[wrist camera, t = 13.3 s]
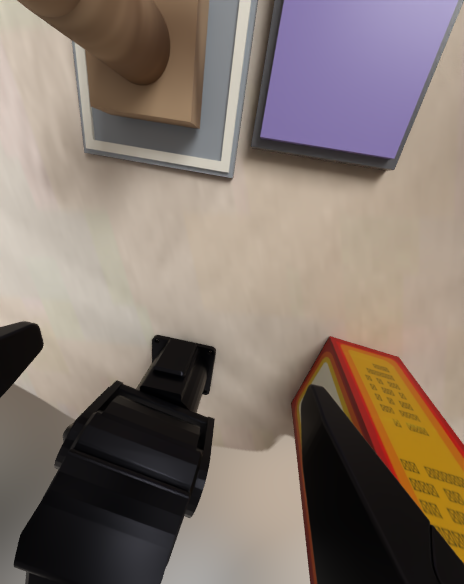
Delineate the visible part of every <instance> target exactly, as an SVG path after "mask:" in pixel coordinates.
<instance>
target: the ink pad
mask: <svg viewBox="0 0 464 584" xmlns="http://www.w3.org/2000/svg"><path fill="white" fill-rule="evenodd" d="M463 2H464V0H275V2H274V9H273V15H272V21H271V27H270V33H269V39H268V46H267V52H266V58H265V64H264V70H263V76H262V83H261V89H260V95H259V101H258V107H257V113H256V120H255V126H254V132H253V138H252V144H251V147H252V148H253V149H260V150H266V151H272V152H278V153H284V154H290V155H296V156H302V157H308V158H314V159H320V160H326V161H332V162H338V163H344V164H350V165H357V166H363V167H369V168H375V169H381V170H394V169H395V167H396V164H397V162H398V160H399V157H400V155H401V152H402V150H403V147H404V145H405V143H406V140H407V138H408V135H409V133H410V130H411V128H412V125H413V123H414V121H415V118H416V116H417V113H418V111H419V108H420V106H421V104H422V101H423V99H424V96H425V94H426V91H427V89H428V87H429V84H430V82H431V79H432V77H433V74H434V72H435V70H436V67H437V65H438V62H439V60H440V57H441V55H442V53H443V50H444V48H445V45H446V43H447V40H448V38H449V36H450V33H451V31H452V28H453V26H454V23H455V21H456V19H457V16H458V14H459V11H460V9H461V6H462V4H463Z"/></svg>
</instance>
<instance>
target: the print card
mask: <svg viewBox="0 0 464 584" xmlns="http://www.w3.org/2000/svg"><path fill="white" fill-rule="evenodd" d="M257 4H258V0H209V12H208V26H207V39H206V53H205V66H204V80H203V93H202V107H201V120H200V129H196V128H190V127H184V126H178V125H171V124H165V123H159V122H152V121H146V120H140V119H134V118H127V117H121V116H115V115H110V114H108V113H105V112H103V111H100V110H98V109H96V108H93V107H91V106H90V96H89V86H88V75H87V65H86V54H85V49H83V48H82V47H81V46H79V45H78V44H76V43H75V42H74V41H72V45H73V54H74V63H75V72H76V81H77V90H78V99H79V108H80V117H81V126H82V135H83V144H84V153H90V154H96V155H101V156H107V157H113V158H119V159H124V160H130V161H136V162H142V163H148V164H153V165H159V166H165V167H171V168H177V169H182V170H188V171H194V172H200V173H205V174H211V175H217V176H223V177H229V178H233V175H234V168H235V161H236V154H237V147H238V139H239V132H240V125H241V118H242V111H243V104H244V97H245V89H246V82H247V75H248V68H249V61H250V54H251V47H252V40H253V32H254V25H255V18H256V11H257Z"/></svg>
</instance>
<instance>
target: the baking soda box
mask: <svg viewBox="0 0 464 584" xmlns="http://www.w3.org/2000/svg"><path fill="white" fill-rule="evenodd" d="M310 384H315V385H319V386H323V387H324V388H325V389H326V390H327V391H328V393H329V394H330V395H331V397H332V398H333V399H334V400H335V402H336V403H337V404H338V405H339V407H340V408H341V409H342V410H343V412H344V413H345V414H346V416H347V417H348V418H349V419H350V421H351V422H352V423H353V424H354V426H355V427H356V428H357V429H358V431H359V432H360V433H361V434H362V436H363V437H364V438H365V440H366V441H367V442H368V443H369V445H370V446H371V447H372V448H373V450H374V451H375V452H376V453H377V455H378V456H379V457H380V458H381V460H382V461H383V462H384V464H385V465H386V466H387V467H388V469H389V470H390V471H391V472H392V474H393V475H394V476H395V477H396V479H397V480H398V481H399V483H400V484H401V485H402V486H403V488H404V489H405V490H406V491H407V493H408V494H409V495H410V496H411V498H412V499H413V500H414V501H415V503H416V504H417V505H418V507H419V508H420V509H421V510H422V512H423V513H424V514H425V515H426V517H427V518H428V519H429V521H430V525H433V526H434V527H435V528H436V529H437V530H438V532H439V533H440V534H441V535H442V537H443V538H444V539H445V540H446V542H447V543H448V544H449V545H450V547H451V548H452V549H453V550H454V552H455V553H456V554H457V555H458V557H459V558H460V559H461V560H462V562H463V563H464V445H463V443H462V442H461V441H460V439H459V438H458V437H457V435H456V434H455V432H454V431H453V430H452V428H451V427H450V426H449V424H448V423H447V422H446V420H445V419H444V418H443V416H442V415H441V414H440V412H439V411H438V410H437V408H436V407H435V406H434V404H433V403H432V401H431V400H430V399H429V397H428V396H427V395H426V393H425V392H424V391H423V389H422V388H421V387H420V385H419V384H418V383H417V381H416V380H415V379H414V377H413V376H412V375H411V373H410V372H409V371H408V369H407V368H406V366H405V365H404V364H403V362H402V361H401V360H400V358H399V357H397V356H393V355H390V354H387V353H383V352H380V351H377V350H374V349H370V348H367V347H364V346H360V345H357V344H354V343H350V342H347V341H344V340H341V339H337V338H334V337H331V336H329V338H328V340H327V342H326V343H325V345H324V347H323V349H322V350H321V352H320V354H319V356H318V357H317V359H316V361H315V363H314V364H313V366H312V368H311V370H310V371H309V373H308V375H307V377H306V378H305V380H304V382H303V384H302V385H301V387H300V389H299V391H298V392H297V394H296V396H295V398H294V399H293V401H292V403H291V406H292V416H293V425H294V435H295V444H296V453H297V462H298V472H299V480H300V491H301V500H302V509H303V519H304V528H305V537H306V546H307V556H308V566H309V575H310V584H317V578H316V570H315V562H314V554H313V546H312V538H311V530H310V522H309V514H308V506H307V499H306V491H305V483H304V475H303V465H302V443H301V403H302V400H303V397H304V395H305V393H306V390H307V388H308V386H309V385H310Z"/></svg>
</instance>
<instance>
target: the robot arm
mask: <svg viewBox="0 0 464 584" xmlns="http://www.w3.org/2000/svg"><path fill="white" fill-rule="evenodd" d="M156 339H157V340H159V341H157V340H156ZM43 344H44V343H43V339H42V335H41V331H40V328H39V326H38V325H37V324H35V323H31V322H19V323H15V324H11V325H7V326H3V327H0V397H1V396H2V395H3V394H4V393H5V392H6V391H7V390H8V389H9V388H10V387H11V386H12V384H13V383H14V382H15V381H16V380H17V378H18V377H19V376H20V375H21V374H22V373H23V371H24V370H25V369H26V368H27V367H28V365H29V364H30V363H31V362H32V361H33V360H34V358H35V357H36V356H37V355H38V354H39V353H40V351H41V350H42V348H43ZM209 351H212V352H209ZM215 355H216V349H215V348H214V347H212V346H207V345H203V344H198V343H193V342H188V341H184V340H179V339H174V338H170V337H165V336H160V335H156V336H154V338H153V339H152V365H151V366H150V368H149V369H148V371H147V373H146V374H145V376H144V377H143V379H142V381H141V382H140V384H139V385H138V387H137V388H136V389H134V388H132V387H129V386H127V385H124V384H123V383H122V382H120V381H116V382H115V383H114V384H113V385H112V386H111V387H108V388H107V389H106V390H105V391H104V392H103V393H102V394H101V395H100V396H99V397H98V398H97V399H96V400H95V401H94V402H93V403H92V404H91V405H90V406H89V407H88V408H87V409H86V410H85V411H84V412H83V413H82V414H81V415H80V416H79V417H78V418H77V419H76V420H75V422H74V423H72V424H71V425H70V426H68V427H67V429H66V430H65V432H64V434H63V441H64V443H63V445H62V447H61V449H60V451H59V453H58V455H57V458H56V460H55V465H54V466H55V468H56V469H59V470H58V472H57V473H56V475H55V477H54V479H53V481H52V482H51V484H50V486H49V488H48V490H47V492H46V493H45V495H44V497H43V499H42V501H41V503H40V504H39V506H38V507H37V509H36V511H35V512H34V514H33V515H32V517H31V519H30V520H29V522H28V523H27V525H26V527H25V528H24V530H23V531H22V533H21V535H20V538H19V542H18V547H17V551H16V555H15V560H14V567H15V568H18V569H21V570H24V571H26V583H25V584H160V583H161V581H162V578H163V575H164V571H165V568H166V566H167V564H168V562H169V559H170V556H171V553H172V550H173V547H174V544H175V541H176V538H177V535H178V532H179V529H180V526H181V524H182V521H183V518H184V516H186V517H188V518H190V517H192V515H193V513H194V512H195V510H196V507H197V505H198V502H199V500H200V497H201V494H202V491H203V488H204V484H205V481H206V477H207V472H208V468H209V463H210V455H211V446H212V437H213V429H214V420H215V419H214V418H211V417H205V416H203V415H200V414H198V413H196V412H197V409H198V406H199V403H200V399H201V396H202V394H204V395H207V394H209V391H210V386H211V380H212V374H213V367H214V361H215ZM301 443H302V465H303V475H304V483H305V491H306V499H307V506H308V514H309V522H310V530H311V538H312V546H313V554H314V562H315V570H316V578H317V584H464V563H463V562H462V560H461V559H460V558H459V557H458V555H457V554H456V553H455V552H454V550H453V549H452V548H451V547H450V545H449V544H448V543H447V542H446V540H445V539H444V538H443V537H442V535H441V534H440V533H439V532H438V530H437V529H436V528H435V527H434V526H433V525H430V521H429V519H428V518H427V517H426V515H425V514H424V513H423V512H422V510H421V509H420V508H419V507H418V505H417V504H416V503H415V501H414V500H413V499H412V498H411V496H410V495H409V494H408V493H407V491H406V490H405V489H404V488H403V486H402V485H401V484H400V483H399V481H398V480H397V479H396V477H395V476H394V475H393V474H392V472H391V471H390V470H389V469H388V467H387V466H386V465H385V464H384V462H383V461H382V460H381V458H380V457H379V456H378V455H377V453H376V452H375V451H374V450H373V448H372V447H371V446H370V445H369V443H368V442H367V441H366V440H365V438H364V437H363V436H362V434H361V433H360V432H359V431H358V429H357V428H356V427H355V426H354V424H353V423H352V422H351V421H350V419H349V418H348V417H347V416H346V414H345V413H344V412H343V410H342V409H341V408H340V407H339V405H338V404H337V403H336V402H335V400H334V399H333V398H332V397H331V395H330V394H329V393H328V391H327V390H326V389H325V388H324V387H323V386H319V385H315V384H310V385H309V386H308V388H307V390H306V393H305V395H304V397H303V400H302V403H301Z"/></svg>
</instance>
